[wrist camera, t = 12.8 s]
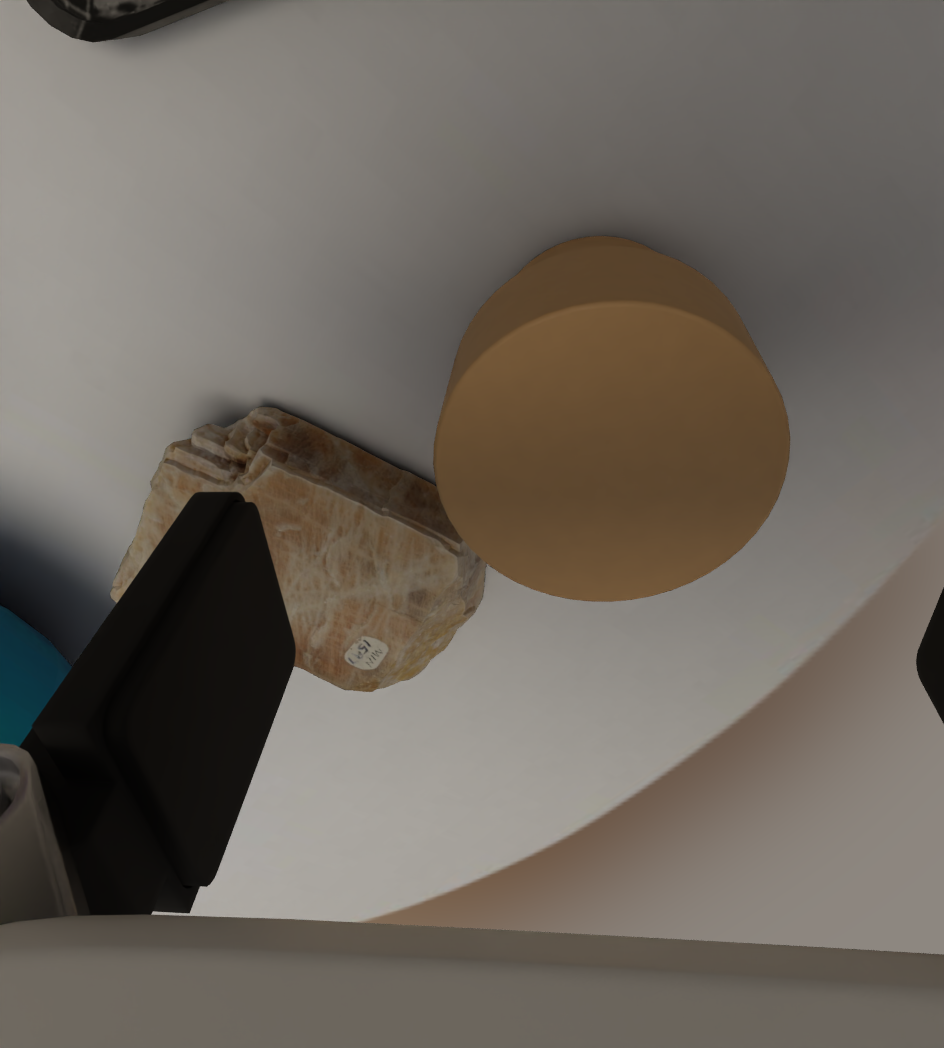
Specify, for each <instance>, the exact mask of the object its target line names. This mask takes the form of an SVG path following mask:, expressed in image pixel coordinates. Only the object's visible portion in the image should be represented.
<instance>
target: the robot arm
mask: <svg viewBox="0 0 944 1048" xmlns="http://www.w3.org/2000/svg"><path fill="white" fill-rule="evenodd" d="M295 657H296V646H295V640H294V636H293V633H292V629H291V626H290V622H289V618H288V615H287V611H286V608H285V604H284V600H283V597H282V593H281V590H280V586H279V582H278V579H277V575H276V572H275V568H274V564H273V561H272V557H271V554H270V550H269V546H268V543H267V539H266V536H265V532H264V528H263V525H262V521H261V518H260V514H259V511H258V508H257V506H256V505H255V503H253V502H246V501H245V499H244V497H243V496H242V494H241V493H239V492H197V493H195V494H194V495H193V496H192V497H191V498H190V499H189V501H188V502H187V504H186V505H185V506H184V508H183V509H182V511H181V512H180V514H179V515H178V517H177V518H176V519H175V521H174V522H173V524H172V525H171V527H170V528H169V529H168V531H167V532H166V534H165V535H164V537H163V538H162V539H161V541H160V542H159V544H158V545H157V547H156V548H155V549H154V551H153V552H152V554H151V555H150V557H149V558H148V559H147V561H146V562H145V564H144V565H143V567H142V568H141V570H140V571H139V572H138V574H137V575H136V577H135V578H134V580H133V581H132V582H131V584H130V585H129V587H128V588H127V590H126V591H125V592H124V594H123V595H122V597H121V598H120V600H119V601H118V602H117V604H116V605H115V607H114V608H113V610H112V611H111V612H110V614H109V615H108V617H107V618H106V620H105V621H104V623H103V624H102V625H101V627H100V628H99V630H98V631H97V633H96V634H95V635H94V637H93V638H92V640H91V641H90V643H89V644H88V645H87V647H86V648H85V650H84V651H83V653H82V654H81V655H80V657H79V658H78V660H77V661H76V663H75V664H74V666H73V667H72V668H71V670H70V671H69V673H68V674H67V676H66V677H65V678H64V680H63V681H62V683H61V684H60V686H59V687H58V688H57V690H56V691H55V693H54V694H53V696H52V697H51V698H50V700H49V701H48V703H47V704H46V706H45V707H44V708H43V710H42V711H41V713H40V714H39V716H38V717H37V719H36V720H35V721H34V723H33V724H32V729H31V730H30V732H29V733H28V735H27V736H26V738H25V739H24V740H23V742H22V743H21V745H20V746H19V747H18V746H16V745H12V744H3V743H0V1048H944V955H942V954H941V955H940V954H924V953H908V952H891V951H875V950H857V949H842V948H825V947H807V946H789V945H771V944H752V943H734V942H716V941H699V940H681V939H663V938H644V937H625V936H608V935H589V934H571V933H551V932H533V931H515V930H494V929H475V928H454V927H434V926H415V925H394V924H375V923H355V922H335V921H315V920H295V919H268V918H237V917H205V916H174V915H151V914H152V912H153V911H157V912H175V913H190V911H191V908H192V905H193V903H194V900H195V898H196V895H197V892H198V890H199V887H200V886H206V887H207V886H208V885H210V884H211V882H212V881H213V879H214V878H215V876H216V873H217V871H218V868H219V866H220V863H221V860H222V858H223V855H224V852H225V850H226V847H227V844H228V842H229V839H230V836H231V834H232V831H233V828H234V825H235V823H236V820H237V817H238V815H239V812H240V809H241V807H242V804H243V801H244V799H245V796H246V793H247V791H248V788H249V785H250V783H251V780H252V777H253V775H254V772H255V769H256V767H257V764H258V761H259V758H260V756H261V753H262V750H263V748H264V745H265V742H266V740H267V737H268V734H269V732H270V729H271V726H272V724H273V721H274V718H275V716H276V713H277V710H278V708H279V705H280V702H281V699H282V697H283V694H284V691H285V689H286V686H287V683H288V681H289V678H290V675H291V673H292V670H293V667H294V663H295ZM916 664H917V671H918V675H919V678H920V680H921V682H922V684H923V686H924V688H925V690H926V691H927V693H928V695H929V697H930V699H931V701H932V703H933V704H934V706H935V708H936V710H937V712H938V714H939V716H940V718H941V719H942V721H943V723H944V588H943V590H942V593H941V595H940V598H939V600H938V603H937V605H936V608H935V610H934V613H933V615H932V617H931V620H930V622H929V625H928V627H927V630H926V632H925V634H924V637H923V639H922V642H921V644H920V647H919V649H918V653H917V659H916Z"/></svg>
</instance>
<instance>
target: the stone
mask: <svg viewBox="0 0 944 1048" xmlns="http://www.w3.org/2000/svg"><path fill="white" fill-rule="evenodd" d="M151 487H152V491H151V493H150V495H149V497H148V498H147V500H146V502H145V504H144V507H143V514H142V517H141V520H140V523H139V526H138V529H137V533H136V536H135V538H134V540H133V541H132V544H131V545H130V546H129V548H128V550H127V552H126V554H125V556H124V558H123V560H122V563H121V565H120V568H119V570H118V572H117V574H116V577H115V579H114V581H113V587H112V589H111V593H110V594H111V599H112V600H114V601H115V602H116V603H117V602H118V601H119V600H120V598H121V597H122V595H123V594H124V592H125V591H126V590H127V588H128V587H129V585H130V584H131V582H132V581H133V580H134V578H135V577H136V575H137V574H138V572H139V571H140V570H141V568H142V567H143V565H144V564H145V562H146V561H147V559H148V558H149V557H150V555H151V554H152V552H153V551H154V549H155V548H156V547H157V545H158V544H159V542H160V541H161V539H162V538H163V537H164V535H165V534H166V532H167V531H168V529H169V528H170V527H171V525H172V524H173V522H174V521H175V519H176V518H177V517H178V515H179V514H180V512H181V511H182V509H183V508H184V506H185V505H186V504H187V502H188V501H189V499H190V498H191V497H192V496H193V495H194V494H195V493H197V492H239V493H241V494H242V496H243V497H244V499H245V501H246V502H253V503H255V505H256V506H257V508H258V511H259V514H260V518H261V521H262V525H263V528H264V532H265V536H266V539H267V543H268V546H269V550H270V554H271V557H272V561H273V564H274V568H275V572H276V575H277V579H278V582H279V586H280V590H281V593H282V597H283V600H284V604H285V608H286V611H287V615H288V618H289V622H290V626H291V629H292V633H293V636H294V640H295V646H296V657H295V663H294V666H295V667H299V668H301V669H304V670H306V671H308V672H310V673H311V674H313V675H315V676H317V677H319V678H321V679H323V680H325V681H327V682H329V683H331V684H333V685H335V686H337V687H339V688H342V689H344V690H354V691H363V692H373V691H374V690H376V689H380V688H385V687H388V686H390V685H393V684H395V683H397V682H399V681H404V680H409V679H411V678H413V677H414V676H416V675H418V674H419V673H420V672H421V671H422V670H423V669H424V668H425V667H426V666H427V665H428V663H429V662H430V660H431V659H432V658H434V657H435V656H436V655H437V654H439V653H440V652H441V651H443V650H444V649H445V648H446V647H447V645H448V644H449V643H450V641H451V640H452V638H453V636H454V634H455V632H456V631H457V629H458V628H459V627H461V626H462V625H463V624H464V623H465V622H466V621H467V620H468V619H469V618H470V617H471V616H472V615H473V614H474V613H475V612H476V610H477V608H478V606H479V604H480V602H481V600H482V597H483V592H484V582H485V579H484V576H485V568H486V562H484V561H483V560H482V559H481V558H480V557H479V556H478V555H477V554H476V553H475V552H473V551H472V550H471V549H470V548H469V546H468V545H467V544H466V543H465V541H464V540H463V539H462V538H461V537H460V535H459V534H458V533H457V531H456V529H455V528H454V526H453V525H452V523H451V521H450V520H449V518H448V516H447V514H446V511H445V509H444V507H443V505H442V502H441V500H440V496H439V493H438V489H437V486H435V485H433V484H431V483H429V482H427V481H425V480H423V479H421V478H419V477H417V476H415V475H413V474H411V473H410V472H408V471H404V470H400V469H398V468H396V467H394V466H392V465H391V464H389V463H387V462H385V461H383V460H381V459H379V458H377V457H375V456H373V455H371V454H369V453H367V452H365V451H363V450H362V449H360V448H358V447H356V446H354V445H352V444H350V443H348V442H346V441H344V440H343V439H340V438H337V437H335V436H333V435H331V434H329V433H327V432H326V431H324V430H322V429H320V428H318V427H316V426H314V425H311V424H310V423H308V422H306V421H304V420H301V419H299V418H297V417H294V416H292V415H289V414H287V413H284V412H282V411H280V410H278V409H277V408H270V407H258V408H256V409H254V410H252V411H251V412H250V413H249V415H248V416H247V417H245V418H244V419H239V420H238V421H237V422H236V423H235V424H233V425H230V426H227V427H225V428H223V427H219V426H216V425H213V424H207V425H205V426H203V427H200V428H197V429H195V430H194V431H193V433H192V438H191V439H187V440H182V441H177V442H173V443H172V444H171V445H169V446H168V447H167V448H166V450H165V453H164V456H163V460H162V461H161V462H160V464H159V467H158V469H157V471H156V473H155V475H154V476H153V478H152V480H151Z"/></svg>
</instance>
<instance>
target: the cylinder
mask: <svg viewBox="0 0 944 1048" xmlns="http://www.w3.org/2000/svg"><path fill="white" fill-rule="evenodd" d="M789 453H790V432H789V423H788V416H787V413H786V409H785V406H784V402H783V399H782V396H781V394H780V392H779V390H778V388H777V386H776V384H775V382H774V379H773V377H772V376H771V374H770V372H769V370H768V368H767V366H766V364H765V363H764V361H763V359H762V357H761V355H760V353H759V351H758V350H757V348H756V346H755V344H754V342H753V340H752V338H751V337H750V335H749V333H748V331H747V329H746V327H745V325H744V324H743V322H742V320H741V318H740V316H739V314H738V313H737V311H736V310H735V308H734V307H733V305H732V304H731V303H730V301H729V300H728V298H727V297H726V296H725V295H724V294H723V293H722V292H721V291H720V290H719V289H718V288H717V287H716V286H715V285H714V283H712V282H711V281H710V280H708V279H707V278H706V277H705V276H703V275H702V274H701V273H699V272H698V271H697V270H695V269H693V268H691V267H690V266H688V265H686V264H684V263H682V262H680V261H679V260H676V259H674V258H671V257H668V256H666V255H663V254H660V253H657V252H655V251H653V250H652V249H650V248H648V247H646V246H644V245H642V244H639V243H637V242H634V241H631V240H627V239H623V238H618V237H609V236H593V237H584V238H579V239H573V240H570V241H567V242H564V243H561V244H559V245H557V246H554V247H552V248H550V249H548V250H546V251H545V252H543V253H542V254H540V255H538V256H537V257H535V258H534V259H533V260H532V261H530V262H529V263H528V264H527V265H526V266H525V267H524V268H523V269H522V270H521V271H520V272H519V273H518V274H517V275H516V276H514V277H513V278H511V279H510V280H509V281H508V282H506V283H505V284H504V285H503V286H502V287H500V288H499V289H498V290H497V291H496V292H495V293H494V294H493V295H492V296H491V297H490V298H489V299H488V300H487V301H486V303H485V304H484V305H483V306H482V307H481V308H480V310H479V311H478V313H477V314H476V315H475V317H474V318H473V320H472V321H471V323H470V324H469V326H468V328H467V330H466V332H465V334H464V336H463V338H462V340H461V343H460V346H459V349H458V352H457V355H456V358H455V361H454V365H453V369H452V372H451V376H450V380H449V384H448V387H447V391H446V395H445V398H444V402H443V406H442V410H441V413H440V417H439V421H438V425H437V430H436V436H435V441H434V458H433V465H434V473H435V481H436V486H437V489H438V493H439V496H440V500H441V502H442V505H443V507H444V509H445V511H446V514H447V516H448V518H449V520H450V521H451V523H452V525H453V526H454V528H455V529H456V531H457V533H458V534H459V535H460V537H461V538H462V539H463V540H464V541H465V543H466V544H467V545H468V546H469V548H470V549H471V550H472V551H473V552H475V553H476V554H477V555H478V556H479V557H480V558H481V559H482V560H483V561H484V562H486V563H487V564H488V565H490V566H491V567H492V568H494V569H495V570H496V571H498V572H499V573H501V574H503V575H504V576H506V577H508V578H510V579H511V580H513V581H515V582H517V583H519V584H522V585H524V586H526V587H529V588H531V589H533V590H536V591H540V592H543V593H546V594H549V595H553V596H558V597H562V598H567V599H573V600H583V601H609V602H612V601H623V600H633V599H638V598H643V597H649V596H653V595H657V594H660V593H664V592H667V591H671V590H673V589H676V588H678V587H681V586H683V585H686V584H688V583H691V582H693V581H695V580H697V579H698V578H700V577H702V576H704V575H706V574H708V573H710V572H711V571H713V570H714V569H716V568H717V567H719V566H720V565H722V564H723V563H725V562H726V561H727V560H729V559H730V558H731V557H732V556H733V555H734V554H736V553H737V552H738V551H739V550H740V549H742V548H743V547H744V545H745V544H746V543H747V542H748V541H749V540H750V539H751V538H752V537H753V536H754V535H755V534H756V532H757V531H758V530H759V528H760V527H761V526H762V524H763V523H764V521H765V520H766V519H767V517H768V516H769V514H770V512H771V510H772V508H773V506H774V505H775V503H776V501H777V499H778V496H779V494H780V491H781V488H782V485H783V483H784V480H785V476H786V472H787V467H788V462H789Z"/></svg>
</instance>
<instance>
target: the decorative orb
mask: <svg viewBox="0 0 944 1048" xmlns="http://www.w3.org/2000/svg"><path fill="white" fill-rule="evenodd" d="M71 668H72V666H71V665H70V664H69V663H68V661H67V660H66V659H65V658H64V657H63V656H62V655H61V653H60V652H59V651H58V650H57V649H56V648H55V646H54V645H53V644H52V643H51V642H50V641H49V640H48V639H47V638H46V637H45V636H43V635H42V634H41V633H39V632H38V631H37V630H35V629H34V628H33V627H31V626H30V625H29V624H27V623H26V622H25V621H23V620H22V619H21V618H19V617H18V616H17V615H15V614H14V613H13V612H11V611H10V610H9V609H7V608H5V607H3V606H1V605H0V743H3V744H12V745H16V746H18V747H19V746H20V745H21V743H22V742H23V740H24V739H25V738H26V736H27V735H28V733H29V732H30V730H31V729H32V724H33V723H34V721H35V720H36V719H37V717H38V716H39V714H40V713H41V711H42V710H43V708H44V707H45V706H46V704H47V703H48V701H49V700H50V698H51V697H52V696H53V694H54V693H55V691H56V690H57V688H58V687H59V686H60V684H61V683H62V681H63V680H64V678H65V677H66V676H67V674H68V673H69V671H70V670H71Z"/></svg>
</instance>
